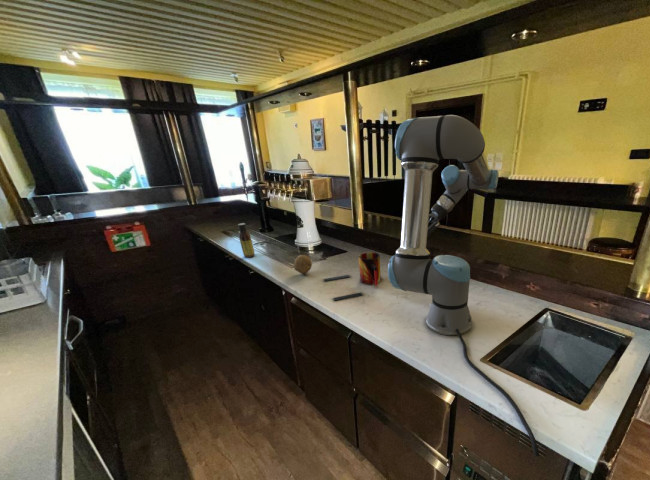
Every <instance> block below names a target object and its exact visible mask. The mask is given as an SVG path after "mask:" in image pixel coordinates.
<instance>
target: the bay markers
mask: <svg viewBox="0 0 650 480" xmlns="http://www.w3.org/2000/svg"><path fill="white" fill-rule="evenodd" d="M350 277H351V276H350V274H345V275H339V276H333V277H328V278H324V279H323V280H324V282H330V281H331V282H332V281H337V280H342V279H349V278H350ZM362 296H363V293H362V292H356V293H351V294H345V295H342V296H337V297H333V301H334V302H338V301H342V300H347V299H352V298H358V297H362Z"/></svg>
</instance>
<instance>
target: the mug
mask: <svg viewBox="0 0 650 480" xmlns="http://www.w3.org/2000/svg"><path fill="white" fill-rule="evenodd" d="M357 258H358V266H359V267H358V269H359V280H360V283H361V284H364V285H374V286H376V287H378V286H379V283H380V282H381V280H382V274H381V273H382V272H381V256H380V254H379V253H377V252H363V253H360V254H359V255H358V257H357Z"/></svg>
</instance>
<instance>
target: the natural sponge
mask: <svg viewBox="0 0 650 480" xmlns="http://www.w3.org/2000/svg"><path fill="white" fill-rule="evenodd" d="M312 266H313V262H312V260H311V258H310V257H309V256H308V255H306V254H300V255H298V256H297V257H296V258H295V259H294V262H293V269H294V271H296V272H298V273H300V274H301V275H305V274H307V273H309V271H310V270H311V269H312Z"/></svg>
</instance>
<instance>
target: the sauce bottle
mask: <svg viewBox="0 0 650 480" xmlns="http://www.w3.org/2000/svg"><path fill="white" fill-rule="evenodd" d="M237 227H238V229H239V237H238V240H239V242H240V247H241V250H242V254H243V256H244V258H253V257H255V255H256V254H255V249H254V245H253V241H252V237H251V234H250V233H249V232H248V230H247V226H246V223H245V222H242V223H238V224H237Z"/></svg>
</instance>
